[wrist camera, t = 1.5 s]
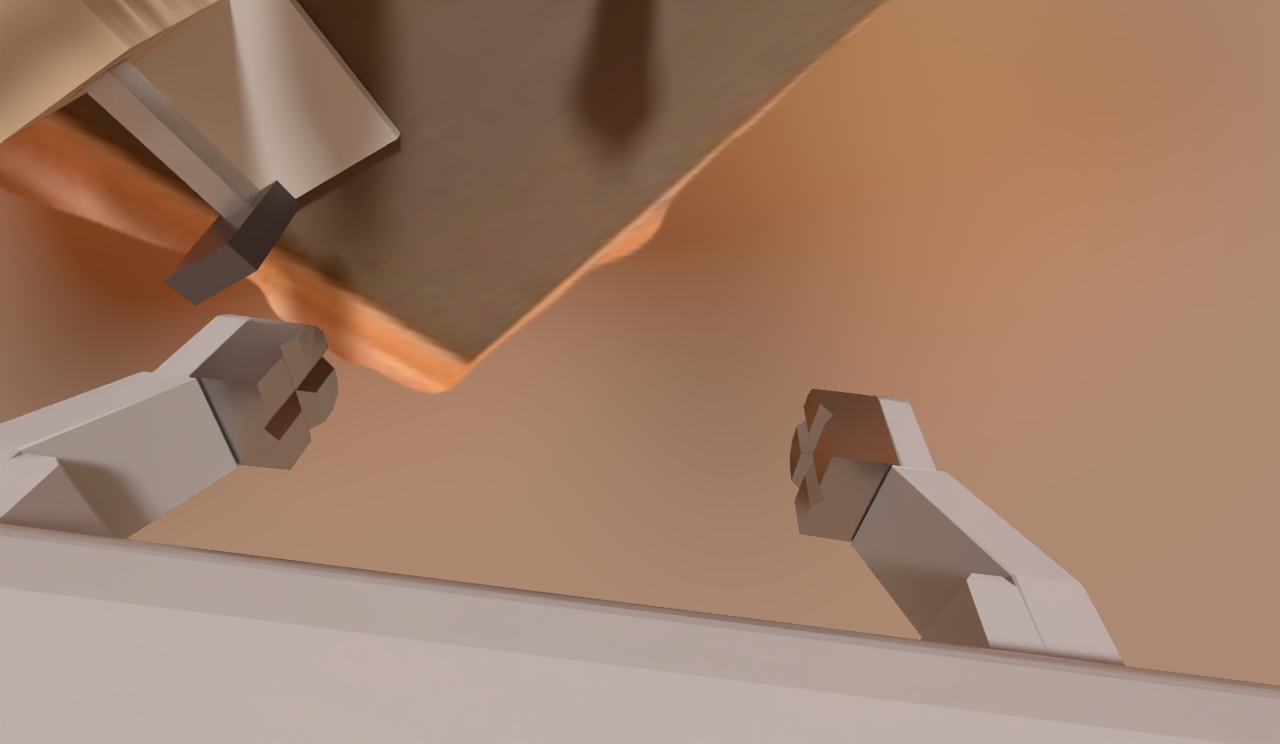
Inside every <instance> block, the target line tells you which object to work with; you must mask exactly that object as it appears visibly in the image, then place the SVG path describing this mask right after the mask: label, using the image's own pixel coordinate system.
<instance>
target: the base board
mask: <svg viewBox="0 0 1280 744" xmlns="http://www.w3.org/2000/svg"><path fill="white" fill-rule="evenodd" d="M132 65H133V66H134V67H135V68H136V69H137V70H138V71H139V72H140V73H141V74H142V75H143V76H144V77H145V78H146V79H147V80H148V81H149V82H150V83H151V84H152V85H153V86H154V87H155V88H156V89H157V90H158V91H159V92H160V93H161V94H162V95H163V96H164V97H165V98H167V99H168V100H169V101H170V102H171V103H172V104H173V105H174V106H175V107H176V108H177V109H178V110H179V111H180V112H181V113H182V114H183V115H184V116H185V117H186V118H187V119H188V120H189V121H190V122H191V123H192V124H193V125H194V126H195V127H196V128H197V129H198V130H199V131H200V132H201V133H202V134H203V135H204V136H205V137H206V138H207V139H208V140H209V141H210V142H211V143H212V144H213V145H214V146H215V147H216V148H217V149H218V150H219V151H220V152H221V153H222V154H223V155H224V156H225V157H226V158H227V159H228V160H229V161H231V162H232V163H233V164H234V165H235V166H236V167H237V168H238V169H239V170H240V171H241V172H242V173H243V174H244V175H245V176H246V177H247V178H248V179H249V180H250V181H251V182H252V183H253V184H254V185H255V186H256V187H257V188H258V189H259V190H261V189H263V188H265V187H266V186H268V185H270V184H271V183H273V182H275V181H276V180H277V181H278V182H279V183H280V184H281V185H282V186H283V187H284V188H285V189H286V190H287V191H288V192H289V193H290V194H291V195H292V196H293V197H294V198H295V199H296V198H298V197H299V196H301V195H303V194H305V193H306V192H308V191H310V190H311V189H313V188H315V187H316V186H318V185H320V184H321V183H323V182H325V181H327V180H328V179H330V178H332V177H333V176H335V175H337V174H338V173H340V172H342V171H343V170H345V169H347V168H349V167H350V166H352V165H354V164H355V163H357V162H359V161H360V160H362V159H364V158H365V157H367V156H369V155H371V154H372V153H374V152H376V151H377V150H379V149H381V148H382V147H384V146H386V145H387V144H389V143H391V142H393V141H394V140H396V139H398V137H399V135H400V132H399V131H398V129H397V128H396V127H395V126H394V124H393V123H392V122H391V120H390V119H389V118H388V117H387V115H386V114H385V113H384V111H383V110H382V109H381V108H380V106H379V105H378V104H377V103H376V101H375V100H374V99H373V97H372V96H371V95H370V94H369V92H368V91H367V90H366V88H365V87H364V86H363V85H362V83H361V82H360V81H359V80H358V78H357V77H356V76H355V74H354V73H353V72H352V71H351V69H350V68H349V67H348V65H347V64H346V63H345V62H344V60H343V59H342V58H341V56H340V55H339V54H338V53H337V51H336V50H335V49H334V48H333V46H332V45H331V44H330V42H329V41H328V40H327V39H326V37H325V36H324V35H323V33H322V32H321V31H320V30H319V28H318V27H317V26H316V24H315V23H314V22H313V21H312V19H311V18H310V17H309V16H308V14H307V13H306V12H305V10H304V9H303V8H302V7H301V5H300V4H299V3H298V1H297V0H220V1H219V2H218V3H216V4H215V5H214V6H212V7H211V8H209V9H208V10H207V11H205V12H204V13H202V14H201V15H200V16H198V17H197V18H196V19H194V20H193V21H191V22H190V23H189V24H187V25H186V26H184V27H183V28H182V29H180V30H179V31H178V32H176V33H175V34H173V35H172V36H171V37H169V38H168V39H166V40H165V41H164V42H162V43H161V44H160V45H158V46H157V47H155V48H154V49H153V50H151V51H150V52H148V53H147V54H146V55H144V56H143V57H142V58H140V59H139V60H137V61H136V62H135V63H133V64H132Z"/></svg>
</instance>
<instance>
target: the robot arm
mask: <svg viewBox="0 0 1280 744" xmlns="http://www.w3.org/2000/svg"><path fill="white" fill-rule="evenodd" d="M327 349H328V345H327V342H326V339H325V336H324V333H323V331H322V330H320V329H319V328H317V327H315V326H310V325H303V324H296V323H289V322H282V321H275V320H269V319H262V318H252V317H246V316H238V315H231V314H226V315H220V316H217V317H216V318H214V319H213V320H212V321H211V322H210V323H209V324H208V325H206V326H205V327H204V328H203V329H202V330H201V331H200V332H198V333H197V334H196V335H195V336H194V337H193V338H192V339H190V340H189V341H188V342H187V343H186V344H185V345H184V346H182V347H181V348H180V349H179V350H178V351H177V352H176V353H174V354H173V355H172V356H171V357H170V358H169V359H168V360H166V361H165V362H164V363H163V364H162V365H161V366H160V367H158V368H157V369H156V370H155V371H154V372H153V373H150V372H140V373H138V374H135V375H132V376H129V377H126V378H124V379H121V380H119V381H116V382H113V383H110V384H107V385H104V386H102V387H99V388H97V389H94V390H91V391H88V392H85V393H83V394H80V395H77V396H75V397H72V398H69V399H66V400H63V401H61V402H58V403H55V404H53V405H50V406H47V407H44V408H42V409H39V410H36V411H33V412H31V413H28V414H25V415H23V416H20V417H17V418H14V419H11V420H9V421H6V422H3V423H0V744H1280V685H1279V686H1278V685H1271V684H1263V683H1255V682H1248V681H1240V680H1231V679H1223V678H1215V677H1207V676H1199V675H1192V674H1184V673H1176V672H1168V671H1160V670H1151V669H1143V668H1135V667H1129V666H1125V664H1124V662H1123V661H1122V659H1121V657H1120V655H1119V653H1118V651H1117V649H1116V648H1115V646H1114V644H1113V642H1112V640H1111V638H1110V636H1109V635H1108V633H1107V631H1106V629H1105V627H1104V626H1103V623H1102V621H1101V620H1100V618H1099V616H1098V614H1097V612H1096V610H1095V608H1094V607H1093V605H1092V603H1091V601H1090V599H1089V597H1088V595H1087V594H1086V592H1085V590H1084V588H1083V586H1082V585H1081V584H1080V583H1079V582H1077V581H1076V580H1075V579H1074V578H1073V577H1072V576H1070V575H1069V574H1068V573H1067V572H1066V571H1064V570H1063V569H1062V568H1061V567H1060V566H1058V565H1057V564H1056V563H1055V562H1054V561H1052V560H1051V559H1050V558H1049V557H1048V556H1046V555H1045V554H1044V553H1043V552H1042V551H1040V550H1039V549H1038V548H1037V547H1036V546H1034V545H1033V544H1032V543H1031V542H1029V541H1028V540H1027V539H1026V538H1025V537H1023V536H1022V535H1021V534H1020V533H1019V532H1018V531H1016V530H1015V529H1014V528H1013V527H1012V526H1010V525H1009V524H1008V523H1007V522H1006V521H1004V520H1003V519H1002V518H1001V517H1000V516H998V515H997V514H996V513H995V512H993V511H992V510H991V509H990V508H989V507H987V506H986V505H985V504H984V503H983V502H981V501H980V500H979V499H978V498H977V497H975V496H974V495H973V494H972V493H971V492H969V491H968V490H967V489H966V488H965V487H963V486H962V485H961V484H960V483H959V482H957V481H956V480H955V479H954V478H953V477H951V476H950V475H949V474H948V473H947V472H941V471H937V470H936V468H935V465H934V462H933V460H932V458H931V455H930V453H929V450H928V448H927V445H926V443H925V440H924V438H923V436H922V433H921V431H920V428H919V426H918V423H917V421H916V419H915V416H914V414H913V411H912V409H911V406H910V404H909V402H908V401H907V400H906V399H905V398H898V397H888V396H879V395H873V396H870V395H861V394H853V393H845V392H837V391H827V390H820V389H812V390H811V391H810V393H809V394H808V396H807V399H806V402H805V405H804V412H805V417H806V420H805V421H804V422H802V423H801V424H799V425H798V426H797V427H796V430H795V433H794V436H793V440H792V445H791V452H790V472H791V480H792V481H793V482H794V483H795V484H796V485H797V487H798V488H799V491H798V494H797V496H796V499H795V507H796V514H797V520H798V526H799V533H800V534H804V535H810V536H816V537H823V538H829V539H836V540H843V541H849V542H852V543H851V545H852V546H853V547H854V549H855V550H856V551H857V553H858V554H859V555H860V557H861V558H862V559H863V560H864V562H865V563H866V564H867V566H868V567H869V568H870V570H872V572H873V574H874V575H875V576H876V578H877V579H878V580H879V581H880V583H881V584H882V585H883V587H884V588H885V589H886V591H887V592H888V593H889V595H890V596H891V597H892V598H893V600H894V601H895V602H896V604H897V605H898V606H899V608H900V609H901V610H902V611H903V613H904V614H905V616H906V617H907V618H908V619H909V621H910V622H911V623H912V625H913V626H914V627H915V629H916V630H917V631H918V633H919V634H920V635H921V637H922V638H921V640H916V639H908V638H901V637H892V636H884V635H877V634H869V633H862V632H854V631H845V630H837V629H830V628H822V627H814V626H806V625H799V624H791V623H783V622H774V621H767V620H759V619H752V618H744V617H736V616H727V615H720V614H712V613H704V612H696V611H688V610H680V609H672V608H664V607H657V606H648V605H641V604H633V603H625V602H617V601H609V600H601V599H593V598H585V597H577V596H569V595H562V594H553V593H545V592H538V591H530V590H522V589H514V588H506V587H499V586H490V585H483V584H475V583H467V582H459V581H451V580H443V579H435V578H427V577H420V576H412V575H404V574H396V573H388V572H380V571H373V570H365V569H357V568H349V567H341V566H333V565H326V564H317V563H310V562H301V561H294V560H286V559H278V558H270V557H263V556H255V555H247V554H239V553H231V552H222V551H214V550H207V549H199V548H192V547H184V546H175V545H167V544H160V543H152V542H144V541H136V540H128V539H126V538H128V537H129V536H131V535H132V534H134V533H136V532H137V531H139V530H140V529H142V528H143V527H145V526H146V525H148V524H150V523H151V522H153V521H154V520H156V519H158V518H159V517H161V516H162V515H164V514H165V513H167V512H168V511H170V510H172V509H173V508H175V507H176V506H178V505H179V504H181V503H183V502H184V501H186V500H187V499H189V498H191V497H192V496H194V495H195V494H197V493H198V492H200V491H201V490H203V489H205V488H206V487H208V486H209V485H211V484H213V483H214V482H216V481H217V480H219V479H220V478H222V477H224V476H225V475H227V474H228V473H230V472H231V471H233V470H235V469H236V468H237V467H238V465H247V466H257V467H267V468H277V469H288V470H291V468H292V467H293V466H294V464H295V463H296V461H297V460H298V458H299V457H300V456H301V454H302V453H303V452H304V450H305V449H306V447H307V446H308V445H309V443H310V442H311V437H310V432H309V429H311V428H313V427H315V426H317V425H319V424H321V423H323V422H325V420H326V419H327V417H328V416H329V414H330V413H331V411H332V410H333V407H334V404H335V401H336V397H337V394H338V386H337V377H336V373H335V369H334V368H333V367H332V366H331V365H330V364H329V363H328V362H327V361H326V360H325V359H324V358H323V357H322V356H323V355H324V353H325V352H326V350H327Z"/></svg>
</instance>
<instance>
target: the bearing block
mask: <svg viewBox="0 0 1280 744" xmlns="http://www.w3.org/2000/svg"><path fill="white" fill-rule="evenodd" d="M219 1H220V0H0V143H2V142H4V141H5V140H7V139H9V138H10V137H12V136H14V135H16V134H17V133H19V132H21V131H22V130H24V129H26V128H27V127H29V126H31V125H33V124H34V123H36V122H38V121H39V120H41V119H43V118H44V117H46V116H48V115H50V114H51V113H53V112H55V111H56V110H58V109H60V108H61V107H63V106H65V105H67V104H68V103H70V102H72V101H73V100H75V99H77V98H78V97H80V96H82V95H84V94H85V93H87V92H86V91H84V90H83V89H82V88H83V87H84V86H85V85H87V84H88V83H90V82H91V81H92V80H94V79H95V78H96V77H98V76H99V75H101V74H102V73H103V72H105V71H106V70H107V69H109V68H111V67H113V66H114V65H116V64H118V63H120V62H121V61H123V60H125V59H127V60H128V61H129V62H130V63H131V64H133V63H135V62H136V61H137V60H139V59H140V58H142V57H143V56H144V55H146V54H147V53H148V52H150V51H151V50H153V49H154V48H155V47H157V46H158V45H160V44H161V43H162V42H164V41H165V40H166V39H168V38H169V37H171V36H172V35H173V34H175V33H176V32H178V31H179V30H180V29H182V28H183V27H184V26H186V25H187V24H189V23H190V22H191V21H193V20H194V19H196V18H197V17H198V16H200V15H201V14H202V13H204V12H205V11H207V10H208V9H209V8H211V7H212V6H214V5H215V4H216V3H218V2H219Z"/></svg>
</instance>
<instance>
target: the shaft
mask: <svg viewBox="0 0 1280 744" xmlns="http://www.w3.org/2000/svg"><path fill="white" fill-rule="evenodd" d="M82 89H83V90H84V91H86V92H87V93H88V94H89V95H90V96H91V97H92V98H93V99H94V100H95V101H97V102H98V103H99V104H100V105H101V106H102V107H103V108H104V109H105V110H106V111H108V112H109V113H110V114H111V115H112V116H113V117H114V118H115V119H116V120H117V121H119V122H120V123H121V124H122V125H123V126H124V127H125V128H126V129H127V130H128V131H129V132H131V133H132V134H133V135H134V136H135V137H136V138H137V139H138V140H139V141H140V142H142V143H143V144H144V145H145V146H146V147H147V148H148V149H149V150H150V151H151V152H153V153H154V154H155V155H156V156H157V157H158V158H159V159H160V160H161V161H162V162H164V163H165V164H166V165H167V166H168V167H169V168H170V169H171V170H172V171H173V172H175V173H176V174H177V175H178V176H179V177H180V178H181V179H182V180H183V181H184V182H186V183H187V184H188V185H189V186H190V187H191V188H192V189H193V190H194V191H195V192H197V193H198V194H199V195H200V196H201V197H202V198H203V199H204V200H205V201H206V202H207V203H209V204H210V205H211V206H212V207H213V208H214V209H215V210H216V211H217V212H218V213H220V214H221V215H220V216H219V217H218V218H217V219H216V221H215V222H214V223H213V224H212V225H211V226H210V228H209V229H208V230H207V231H206V232H205V233H204V235H203V236H202V237H201V238H200V239H199V240H198V242H197V243H196V244H195V245H194V246H193V247H192V249H191V250H190V251H189V252H188V253H187V254H186V256H185V257H184V258H183V259H182V260H181V262H180V263H179V264H178V265H177V266H176V267H175V268H174V270H173V271H172V272H171V273H170V274H169V276H168V277H167V278H166V279H165V280H164V282H165V283H167V284H168V285H169V286H171V287H172V288H173V289H174V290H176V291H177V292H178V293H180V294H181V295H182V296H184V297H185V298H186V299H187V300H189V301H190V302H191V303H192V304H194V305H197V304H199V303H200V302H202V301H204V300H206V299H207V298H209V297H211V296H213V295H215V294H216V293H218V292H220V291H221V290H223V289H225V288H227V287H229V286H230V285H232V284H234V283H236V282H237V281H239V280H241V279H243V278H245V277H246V276H248V275H250V274H252V273H253V272H255V271H257V270H258V268H259V267H260V265H261V264H262V262H263V261H264V260H265V258H266V257H267V255H268V254H269V252H270V251H271V249H272V248H273V246H274V245H275V243H276V242H277V240H278V239H279V237H280V236H281V234H282V233H283V231H284V230H285V228H286V227H287V225H288V224H289V222H290V221H291V219H292V218H293V216H294V215H295V213H296V212H297V210H298V209H299V207H300V206H301V204H300V203H299V202H298V201H297V200H296V199H295V198H294V197H293V196H292V195H291V194H290V193H289V192H288V191H287V190H286V189H285V188H284V187H283V186H282V185H281V184H280V183H279V182H278V181H277V180H276V181H275V182H273V183H271V184H270V185H268V186H266V187H265V188H263V189H261V190H259V189H258V188H257V187H256V186H255V185H254V184H253V183H252V182H251V181H250V180H249V179H248V178H247V177H246V176H245V175H244V174H243V173H242V172H241V171H240V170H239V169H238V168H237V167H236V166H235V165H234V164H233V163H232V162H231V161H229V160H228V159H227V158H226V157H225V156H224V155H223V154H222V153H221V152H220V151H219V150H218V149H217V148H216V147H215V146H214V145H213V144H212V143H211V142H210V141H209V140H208V139H207V138H206V137H205V136H204V135H203V134H202V133H201V132H200V131H199V130H198V129H197V128H196V127H195V126H194V125H193V124H192V123H191V122H190V121H189V120H188V119H187V118H186V117H185V116H184V115H183V114H182V113H181V112H180V111H179V110H178V109H177V108H176V107H175V106H174V105H173V104H172V103H171V102H170V101H169V100H168V99H167V98H165V97H164V96H163V95H162V94H161V93H160V92H159V91H158V90H157V89H156V88H155V87H154V86H153V85H152V84H151V83H150V82H149V81H148V80H147V79H146V78H145V77H144V76H143V75H142V74H141V73H140V72H139V71H138V70H137V69H136V68H135V67H134V66H133V65H132V64H131V63H130V62H129V61H128V60H127V59H125V60H123V61H121V62H120V63H118V64H116V65H114V66H113V67H111V68H109V69H107V70H106V71H105V72H103V73H102V74H101V75H99V76H98V77H96V78H95V79H94V80H92V81H91V82H90V83H88V84H87V85H85V86H84V87H83V88H82Z"/></svg>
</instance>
